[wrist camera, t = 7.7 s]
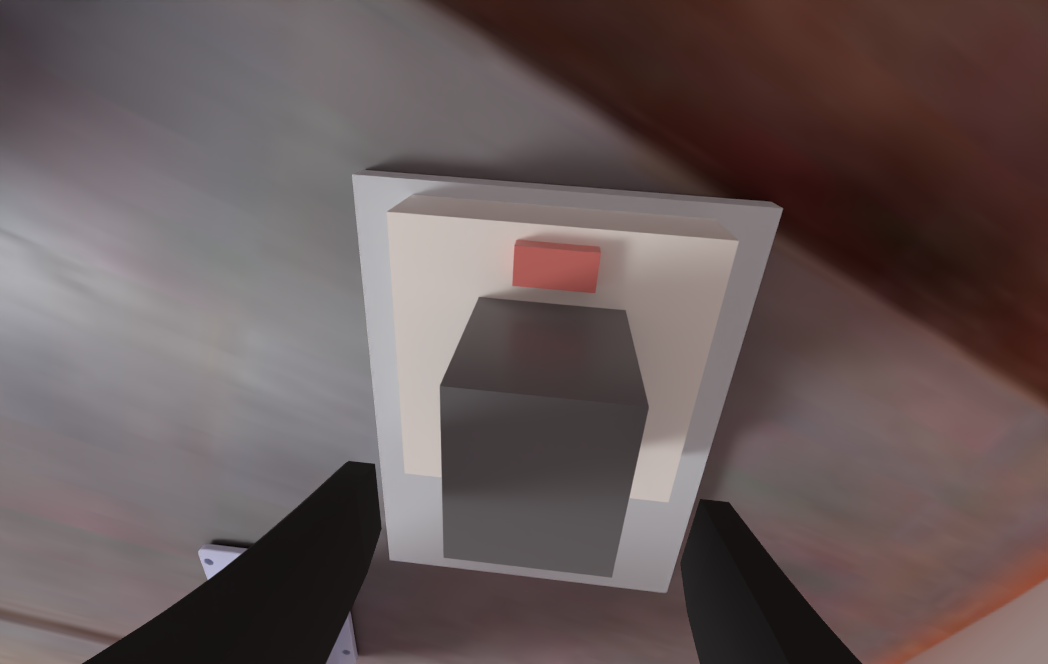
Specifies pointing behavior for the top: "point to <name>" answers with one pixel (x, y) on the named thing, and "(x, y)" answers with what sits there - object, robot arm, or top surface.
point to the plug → (540, 436)
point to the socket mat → (663, 524)
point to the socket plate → (557, 302)
